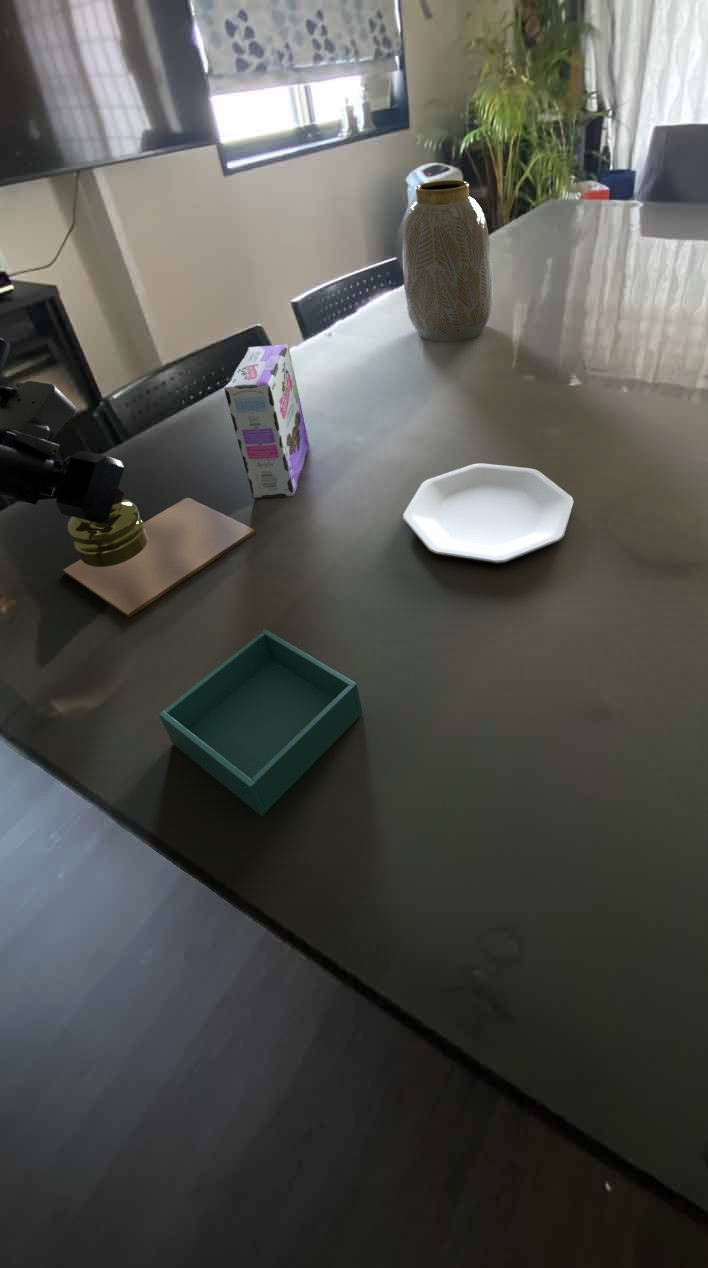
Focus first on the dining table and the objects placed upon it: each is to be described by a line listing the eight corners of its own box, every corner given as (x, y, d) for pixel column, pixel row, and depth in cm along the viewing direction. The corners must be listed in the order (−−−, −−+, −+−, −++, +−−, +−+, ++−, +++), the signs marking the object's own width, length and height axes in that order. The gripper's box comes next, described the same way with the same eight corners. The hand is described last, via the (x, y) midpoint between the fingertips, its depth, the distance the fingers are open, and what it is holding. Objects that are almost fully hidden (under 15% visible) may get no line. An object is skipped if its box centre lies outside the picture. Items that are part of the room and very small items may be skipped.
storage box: (261, 816, 54) (250, 787, 52) (172, 743, 60) (158, 714, 58) (363, 713, 61) (356, 683, 59) (273, 657, 68) (265, 629, 65)
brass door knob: (122, 522, 81) (93, 449, 76) (163, 540, 78) (135, 464, 72) (67, 556, 76) (31, 481, 71) (107, 577, 73) (73, 499, 67)
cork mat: (128, 618, 74) (127, 614, 74) (64, 573, 82) (62, 569, 81) (255, 532, 85) (254, 529, 85) (188, 500, 93) (187, 497, 93)
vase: (418, 315, 147) (406, 178, 131) (498, 314, 143) (495, 173, 128) (400, 346, 133) (384, 197, 118) (487, 346, 129) (483, 192, 114)
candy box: (295, 497, 91) (268, 384, 82) (251, 500, 92) (221, 387, 82) (311, 446, 103) (289, 341, 93) (272, 448, 103) (247, 344, 94)
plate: (553, 580, 74) (554, 569, 73) (385, 554, 80) (384, 544, 79) (580, 483, 89) (581, 473, 88) (437, 467, 95) (436, 458, 94)
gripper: (70, 380, 58) (192, 435, 72) (-69, 358, 65) (67, 413, 79) (28, 506, 56) (161, 537, 71) (-109, 471, 63) (37, 505, 78)
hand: (105, 493), depth 74 cm, fingers closed on brass door knob, 5 cm apart
